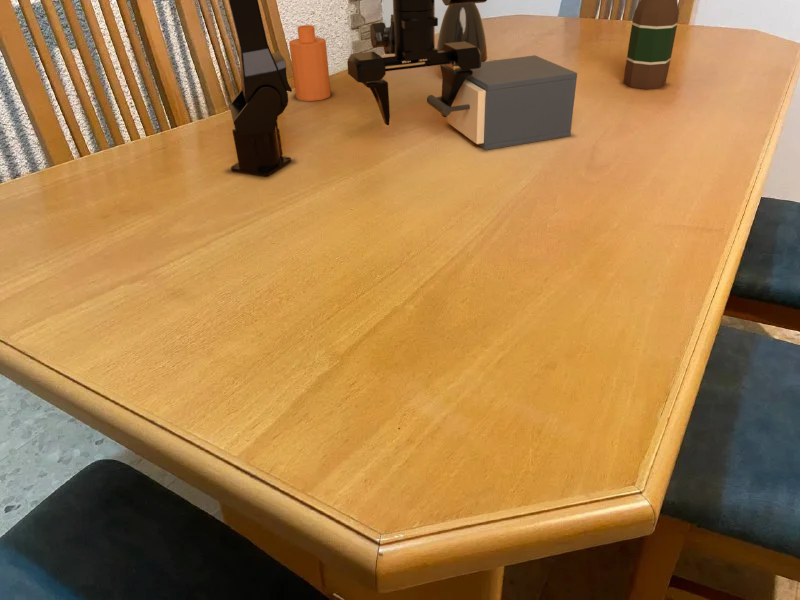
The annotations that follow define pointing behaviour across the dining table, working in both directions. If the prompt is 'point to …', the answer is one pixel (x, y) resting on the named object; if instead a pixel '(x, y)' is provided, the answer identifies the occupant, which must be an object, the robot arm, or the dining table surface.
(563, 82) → the cabinet
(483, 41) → the dark brown rounded piece
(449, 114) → the drawer
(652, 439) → the dining table surface
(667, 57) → the beer bottle
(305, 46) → the detergent bottle
